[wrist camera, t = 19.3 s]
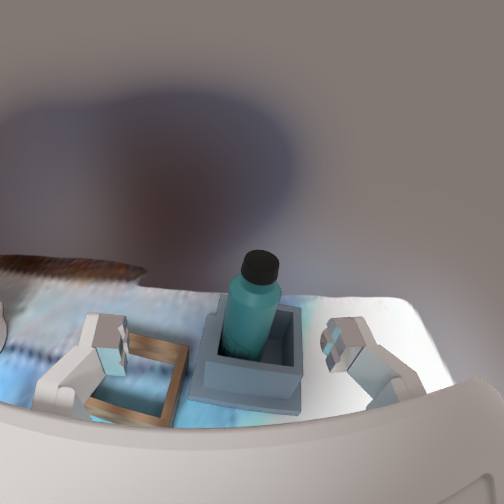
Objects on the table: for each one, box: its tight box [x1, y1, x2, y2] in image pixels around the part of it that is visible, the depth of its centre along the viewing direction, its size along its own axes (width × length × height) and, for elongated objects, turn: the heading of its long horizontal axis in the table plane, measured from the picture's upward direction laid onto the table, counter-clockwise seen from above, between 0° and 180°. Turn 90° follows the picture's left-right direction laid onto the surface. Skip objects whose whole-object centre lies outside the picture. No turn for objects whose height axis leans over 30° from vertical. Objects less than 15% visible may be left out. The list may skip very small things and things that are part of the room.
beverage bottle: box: [218, 250, 281, 362], centre depth 40 cm, size 6×7×20 cm
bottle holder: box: [188, 294, 303, 416], centre depth 44 cm, size 16×16×8 cm
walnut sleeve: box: [83, 332, 189, 428], centre depth 39 cm, size 13×13×4 cm
